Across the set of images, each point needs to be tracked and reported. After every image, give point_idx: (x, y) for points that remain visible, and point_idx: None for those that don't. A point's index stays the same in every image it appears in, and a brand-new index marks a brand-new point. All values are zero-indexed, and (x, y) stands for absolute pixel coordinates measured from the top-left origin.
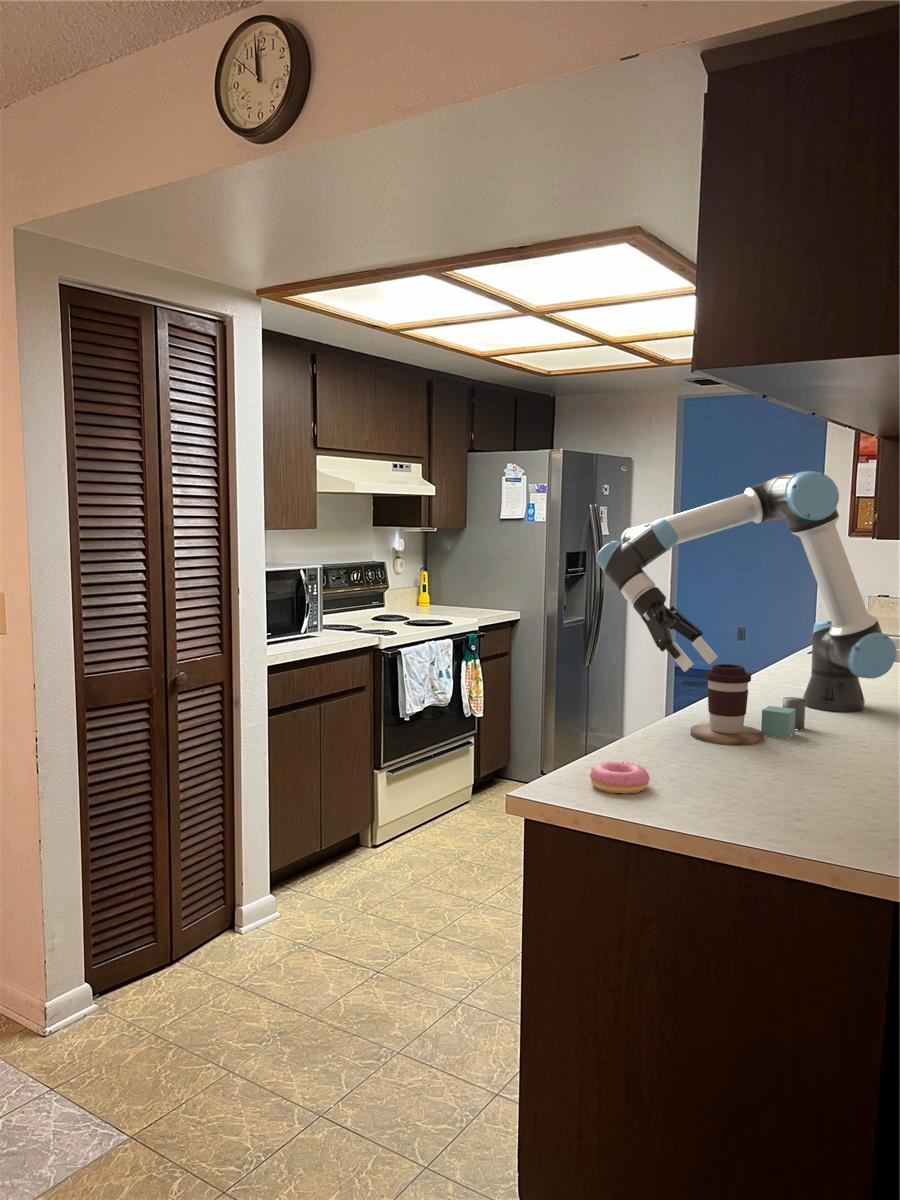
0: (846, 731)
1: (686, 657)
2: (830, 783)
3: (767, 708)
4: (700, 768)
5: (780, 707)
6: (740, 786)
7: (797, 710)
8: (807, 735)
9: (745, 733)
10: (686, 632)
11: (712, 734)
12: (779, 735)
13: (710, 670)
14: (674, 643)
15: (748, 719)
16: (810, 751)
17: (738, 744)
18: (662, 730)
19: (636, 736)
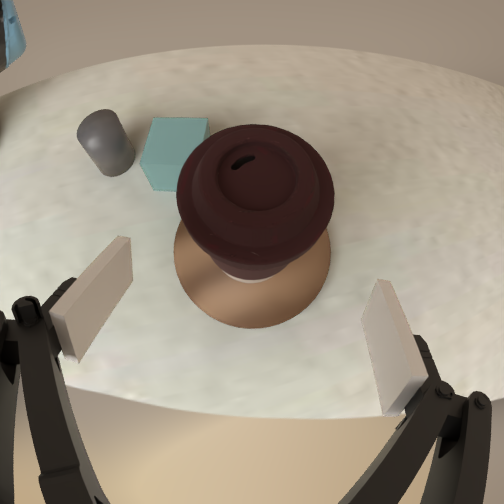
0: (115, 96)
1: (400, 305)
2: (425, 98)
3: (173, 160)
4: (478, 240)
5: (149, 142)
6: (499, 183)
7: (122, 127)
8: None
9: None
10: (65, 397)
11: (302, 267)
12: None
13: (230, 254)
14: (426, 372)
15: (72, 244)
16: (285, 112)
17: None
18: (271, 391)
19: (356, 416)
